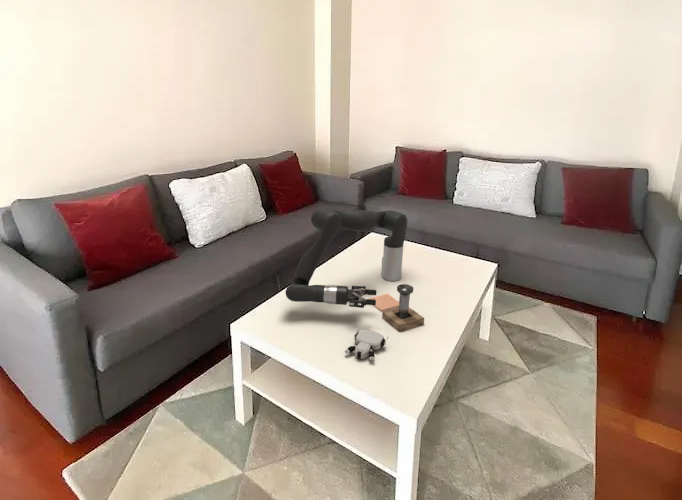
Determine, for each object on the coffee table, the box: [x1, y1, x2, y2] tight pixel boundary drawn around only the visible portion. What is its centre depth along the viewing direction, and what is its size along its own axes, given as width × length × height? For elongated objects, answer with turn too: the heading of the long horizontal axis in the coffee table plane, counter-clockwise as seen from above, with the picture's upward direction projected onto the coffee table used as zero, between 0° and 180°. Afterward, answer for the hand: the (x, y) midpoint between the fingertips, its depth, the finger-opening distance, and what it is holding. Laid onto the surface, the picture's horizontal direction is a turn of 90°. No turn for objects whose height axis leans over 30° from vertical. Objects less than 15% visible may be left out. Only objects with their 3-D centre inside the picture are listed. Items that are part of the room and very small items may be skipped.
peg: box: [396, 283, 414, 319], centre depth 185 cm, size 6×6×15 cm
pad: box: [368, 293, 399, 313], centre depth 201 cm, size 11×11×1 cm
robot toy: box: [344, 327, 389, 361], centre depth 168 cm, size 12×4×15 cm
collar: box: [381, 306, 425, 333], centre depth 187 cm, size 12×12×3 cm
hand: (376, 297), depth 185 cm, fingers open, 8 cm apart
